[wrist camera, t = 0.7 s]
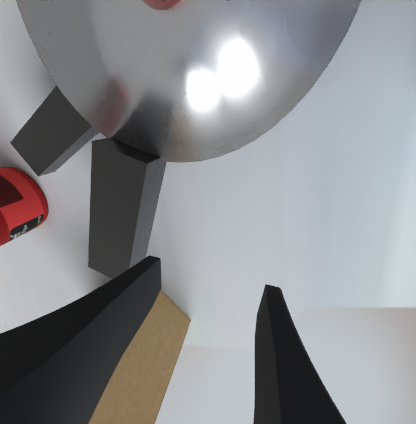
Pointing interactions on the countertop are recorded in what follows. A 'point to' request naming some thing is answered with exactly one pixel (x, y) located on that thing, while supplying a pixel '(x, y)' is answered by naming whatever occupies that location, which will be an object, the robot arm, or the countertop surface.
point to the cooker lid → (175, 89)
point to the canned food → (19, 204)
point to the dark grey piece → (52, 134)
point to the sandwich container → (144, 368)
